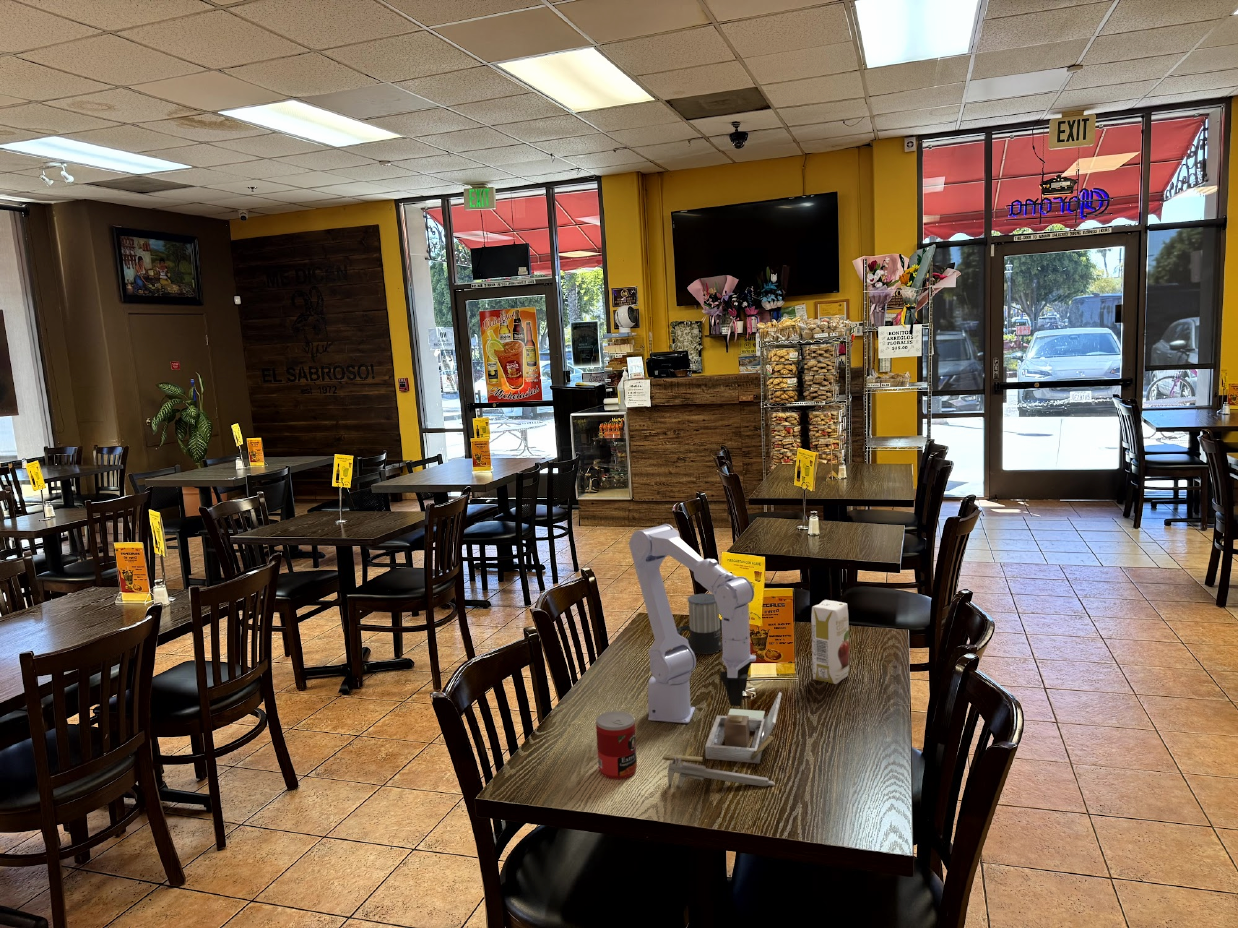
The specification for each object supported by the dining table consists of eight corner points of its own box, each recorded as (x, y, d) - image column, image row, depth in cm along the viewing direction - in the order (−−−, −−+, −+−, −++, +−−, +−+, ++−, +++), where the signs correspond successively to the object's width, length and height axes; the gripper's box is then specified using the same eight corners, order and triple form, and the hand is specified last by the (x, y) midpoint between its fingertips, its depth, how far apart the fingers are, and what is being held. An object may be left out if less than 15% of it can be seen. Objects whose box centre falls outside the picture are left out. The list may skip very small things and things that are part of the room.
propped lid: (749, 760, 167) (748, 722, 166) (758, 725, 182) (757, 690, 181) (775, 763, 166) (774, 724, 165) (782, 727, 181) (781, 691, 180)
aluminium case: (705, 758, 171) (705, 746, 170) (717, 726, 185) (717, 715, 185) (759, 763, 168) (759, 750, 167) (767, 730, 182) (767, 718, 182)
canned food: (624, 783, 163) (622, 730, 161) (590, 774, 167) (587, 722, 165) (644, 766, 169) (642, 714, 168) (611, 757, 173) (608, 707, 172)
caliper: (668, 789, 160) (667, 758, 159) (668, 786, 161) (667, 755, 160) (775, 787, 159) (774, 756, 158) (774, 784, 160) (773, 753, 159)
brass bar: (663, 760, 172) (663, 755, 172) (664, 757, 173) (664, 753, 173) (702, 763, 170) (701, 759, 170) (702, 761, 171) (702, 757, 170)
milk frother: (720, 655, 228) (718, 603, 226) (663, 653, 232) (661, 602, 230) (725, 637, 242) (723, 588, 240) (672, 636, 245) (670, 587, 244)
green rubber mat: (724, 724, 186) (724, 723, 186) (730, 709, 193) (730, 708, 193) (760, 727, 183) (760, 726, 183) (764, 712, 191) (764, 711, 191)
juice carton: (809, 679, 208) (807, 606, 206) (825, 669, 215) (823, 597, 212) (837, 686, 203) (835, 611, 201) (852, 675, 210) (851, 602, 207)
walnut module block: (725, 748, 175) (724, 721, 174) (728, 738, 179) (727, 712, 178) (746, 749, 174) (745, 723, 173) (749, 740, 178) (748, 714, 177)
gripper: (751, 648, 166) (753, 713, 168) (758, 625, 180) (760, 685, 182) (716, 647, 168) (718, 711, 170) (726, 624, 182) (728, 683, 184)
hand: (738, 697), depth 176 cm, fingers open, 7 cm apart
